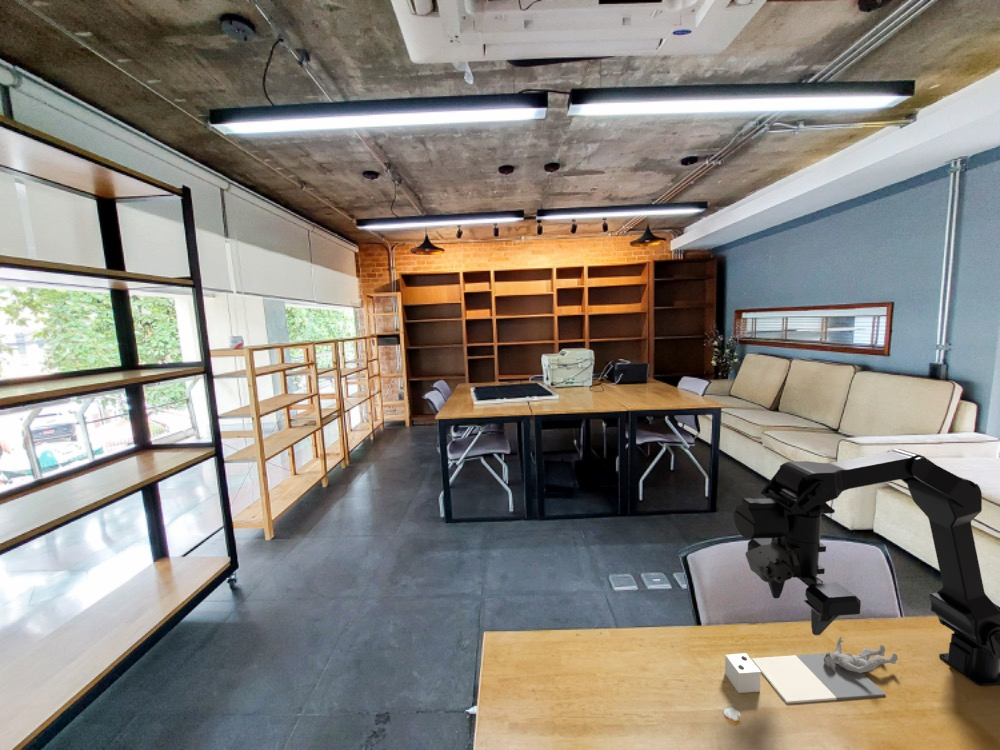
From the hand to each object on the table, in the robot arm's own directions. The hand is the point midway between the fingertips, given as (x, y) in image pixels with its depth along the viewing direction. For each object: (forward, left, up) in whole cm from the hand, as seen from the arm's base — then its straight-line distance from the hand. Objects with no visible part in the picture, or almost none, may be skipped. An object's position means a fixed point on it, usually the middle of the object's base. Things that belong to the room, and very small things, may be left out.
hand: (794, 615), depth 71 cm
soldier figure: (-20, 0, -12) cm, 23 cm away
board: (-5, 0, -13) cm, 14 cm away
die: (+9, 0, -13) cm, 16 cm away
